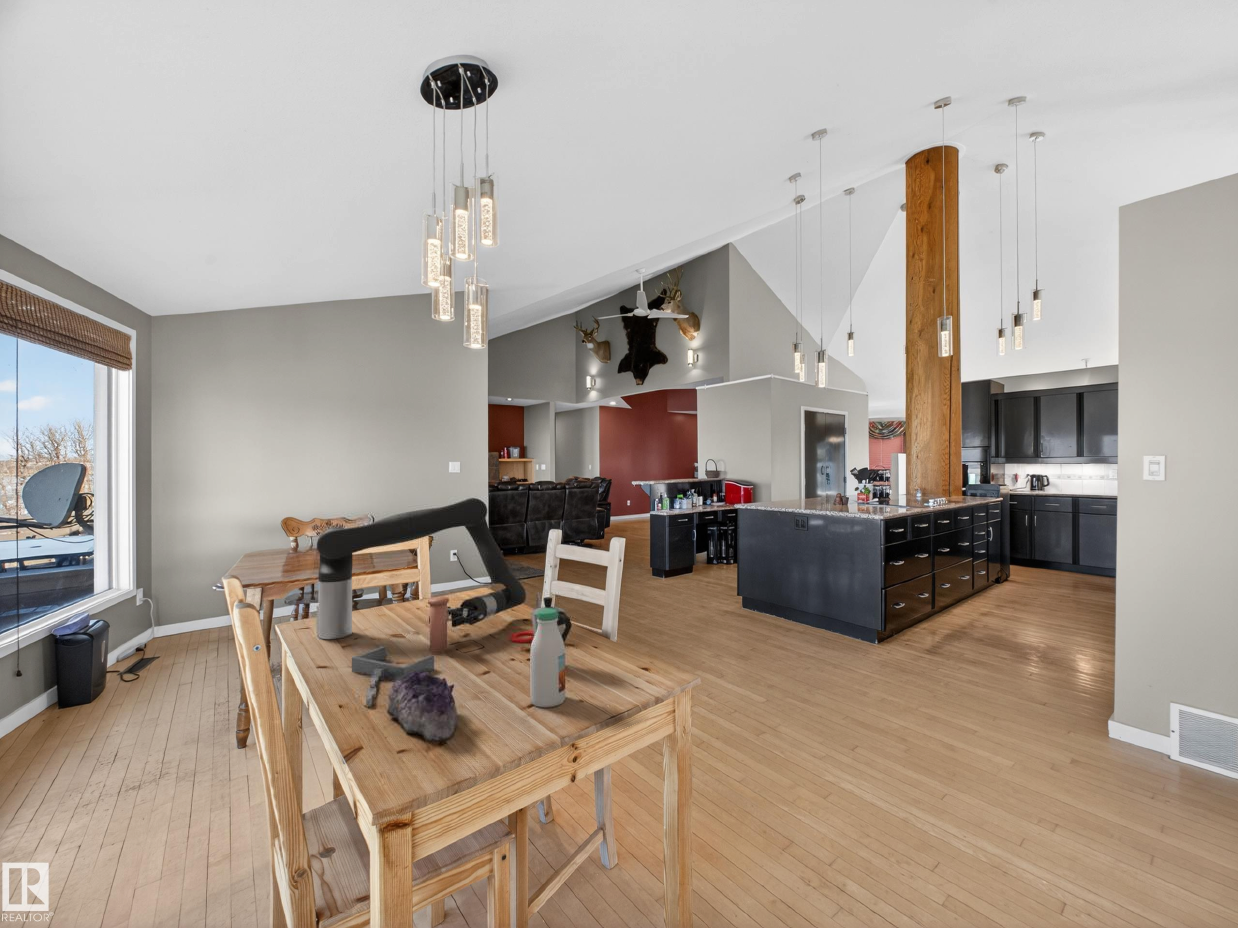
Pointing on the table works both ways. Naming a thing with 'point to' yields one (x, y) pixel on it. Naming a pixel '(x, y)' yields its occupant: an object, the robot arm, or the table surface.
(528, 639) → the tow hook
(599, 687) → the table surface
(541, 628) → the milk bottle
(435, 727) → the geode
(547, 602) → the coffee maker
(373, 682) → the chain
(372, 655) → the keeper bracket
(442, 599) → the pin
